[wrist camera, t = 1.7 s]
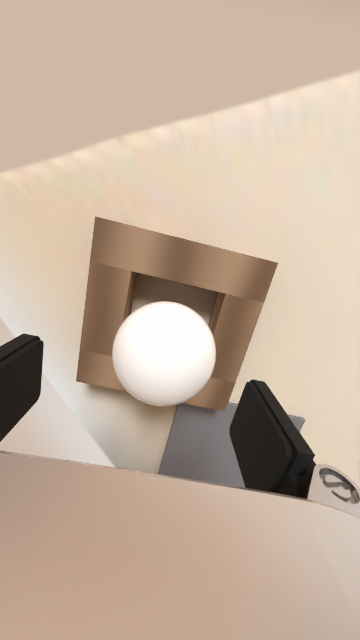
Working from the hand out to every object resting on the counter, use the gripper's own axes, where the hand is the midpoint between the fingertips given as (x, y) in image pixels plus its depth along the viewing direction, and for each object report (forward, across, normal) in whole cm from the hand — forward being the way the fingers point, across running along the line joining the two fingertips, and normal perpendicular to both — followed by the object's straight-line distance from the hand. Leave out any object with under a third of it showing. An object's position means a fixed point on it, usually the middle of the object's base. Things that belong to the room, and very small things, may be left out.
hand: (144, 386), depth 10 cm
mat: (+12, -11, +14) cm, 21 cm away
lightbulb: (+12, -1, 0) cm, 12 cm away
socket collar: (+12, -1, 0) cm, 12 cm away
